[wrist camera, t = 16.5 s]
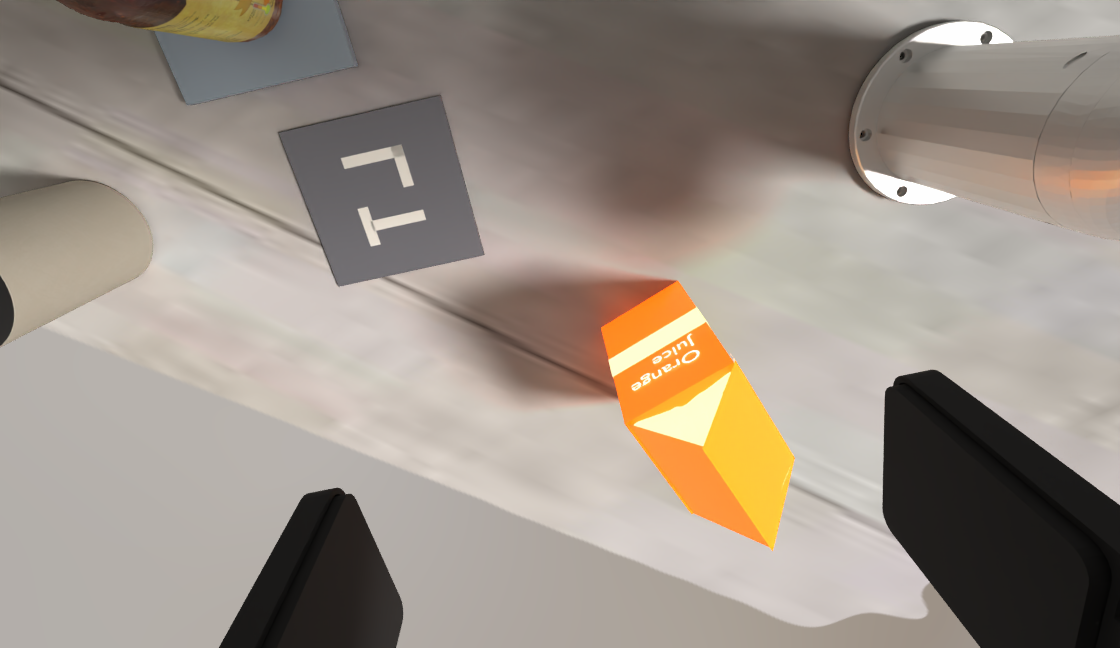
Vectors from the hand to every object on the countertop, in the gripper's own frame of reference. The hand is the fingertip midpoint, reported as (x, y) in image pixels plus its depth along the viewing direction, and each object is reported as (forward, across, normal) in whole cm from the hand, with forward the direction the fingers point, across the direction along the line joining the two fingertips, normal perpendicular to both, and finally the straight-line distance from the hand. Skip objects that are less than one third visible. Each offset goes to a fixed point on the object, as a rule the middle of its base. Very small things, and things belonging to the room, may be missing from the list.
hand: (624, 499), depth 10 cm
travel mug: (+36, +35, -3) cm, 51 cm away
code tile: (+36, +13, -1) cm, 39 cm away
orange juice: (+36, -6, +16) cm, 40 cm away
